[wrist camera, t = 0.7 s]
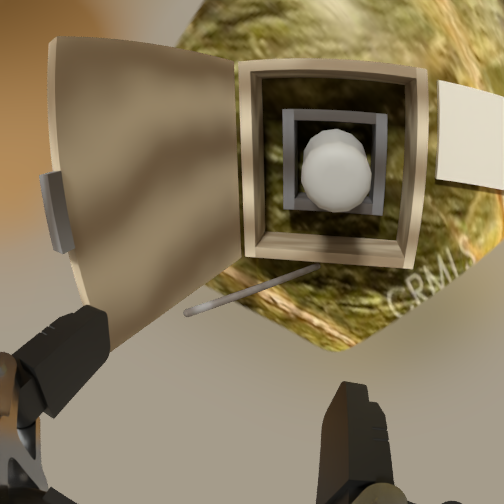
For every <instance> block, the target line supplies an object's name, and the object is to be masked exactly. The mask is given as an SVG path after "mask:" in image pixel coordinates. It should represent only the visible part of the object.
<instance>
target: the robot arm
mask: <svg viewBox="0 0 504 504" xmlns="http://www.w3.org/2000/svg"><path fill="white" fill-rule="evenodd" d="M110 347H111V346H110V336H109V325H108V316H107V313H106V312H105V311H103V310H100V309H98V308H95V307H93V306H90V305H84V306H83V307H82V308H80V309H79V310H78V311H76V312H75V313H70V314H67V315H65V316H62V317H59V318H58V319H57V320H55V321H54V322H53V323H52V324H50V326H49V327H46V328H45V329H44V330H42V333H38V334H37V335H36V336H35V337H34V338H32V339H31V340H30V341H28V342H27V343H26V344H25V345H23V346H22V347H21V348H20V349H18V351H16V352H15V353H14V354H12V355H10V354H9V353H5V352H0V504H77V503H75V502H74V501H72V500H70V499H69V498H67V497H66V496H64V495H63V494H61V493H59V492H58V491H57V490H55V489H53V488H52V487H50V488H49V489H48V484H47V480H46V477H45V475H44V472H43V469H42V464H41V443H40V418H39V416H40V414H41V413H42V412H45V413H46V414H47V415H49V416H50V417H52V418H55V417H56V416H57V415H58V414H59V412H60V411H61V410H62V409H63V408H64V407H65V406H66V405H67V403H68V402H69V401H70V400H71V399H72V398H73V397H74V396H75V394H76V393H77V392H78V391H79V390H80V389H81V388H82V387H83V386H84V384H85V383H86V382H87V381H88V380H89V379H90V378H91V377H92V375H94V373H95V372H96V371H97V370H98V369H99V368H100V367H101V366H102V365H103V364H104V363H105V361H106V360H107V358H108V356H109V353H110ZM388 440H389V438H388V431H387V424H386V418H385V414H384V413H383V411H382V409H381V408H380V406H379V405H378V403H376V402H369V397H368V390H367V386H366V385H363V384H358V383H351V382H346V381H343V382H342V383H341V384H340V386H339V388H338V390H337V392H336V394H335V396H334V398H333V400H332V402H331V404H330V406H329V408H328V409H327V412H326V414H325V416H324V420H323V424H322V433H321V450H320V464H319V477H318V487H317V498H316V504H414V503H411V502H409V501H407V498H406V497H405V495H404V493H403V492H402V491H401V490H400V489H399V488H398V487H396V486H395V485H394V481H393V471H392V461H391V453H390V445H389V442H388ZM442 504H461V503H460V502H457V501H448V502H444V503H442Z"/></svg>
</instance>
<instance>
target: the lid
mask: <svg viewBox="0 0 504 504" xmlns="http://www.w3.org/2000/svg"><path fill="white" fill-rule="evenodd" d="M47 77H48V79H47V98H48V124H49V138H50V149H51V160H52V168H53V172H49V173H45V174H42V175H39V178H40V184H41V191H42V197H43V203H44V208H45V213H46V218H47V223H48V227H49V232H50V237H51V241H52V245H53V249H54V250H55V251H57V252H59V253H62V254H64V253H66V252H68V254H69V258H70V262H71V265H72V269H73V273H74V277H75V280H76V284H77V287H78V290H79V294H80V297H81V300H82V303H83V306H84V305H90V306H93V307H95V308H98V309H100V310H103V311H105V312H106V313H107V316H108V325H109V336H110V346H111V347H110V352H111V351H113V350H114V349H115V348H117V347H118V346H119V345H121V344H122V343H124V342H125V341H126V340H127V339H129V338H131V337H132V336H133V335H135V334H136V333H137V332H139V331H140V330H142V329H143V328H144V327H146V326H147V325H149V324H150V323H151V322H153V321H154V320H155V319H157V318H158V317H160V316H161V315H162V314H164V313H165V312H166V311H168V310H169V309H171V308H172V307H173V306H175V305H176V304H178V303H179V302H180V301H182V300H183V299H185V298H186V297H187V296H189V295H190V294H192V293H193V292H194V291H196V290H197V289H198V288H200V287H201V286H203V285H204V284H205V283H207V282H208V281H210V280H211V279H212V278H214V277H215V276H216V275H218V274H219V273H221V272H222V271H223V270H225V269H226V268H228V267H229V266H230V265H232V264H233V263H235V262H236V261H237V260H239V259H240V258H241V239H240V216H239V192H238V167H237V141H236V112H235V82H234V61H231V60H227V59H223V58H219V57H215V56H211V55H207V54H203V53H198V52H194V51H189V50H184V49H179V48H174V47H168V46H162V45H156V44H150V43H143V42H135V41H127V40H118V39H107V38H93V37H92V38H91V37H66V36H58V37H56V38H55V39H53V40H52V41H51V42H50V43H49V51H48V74H47Z"/></svg>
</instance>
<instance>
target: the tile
mask: <svg viewBox="0 0 504 504" xmlns="http://www.w3.org/2000/svg"><path fill="white" fill-rule="evenodd" d="M437 98H438V130H437V155H436V170H435V178H436V179H440V180H447V181H454V182H460V183H467V184H473V185H479V186H484V187H490V188H495V189H500V190H504V97H502V96H499V95H496V94H492V93H489V92H485V91H482V90H478V89H475V88H471V87H467V86H463V85H459V84H454V83H450V82H445V81H440V80H438V81H437Z"/></svg>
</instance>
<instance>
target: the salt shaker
mask: <svg viewBox="0 0 504 504" xmlns="http://www.w3.org/2000/svg"><path fill="white" fill-rule="evenodd" d="M371 175H372V173H371V170H370V167H369V164H368V161H367V157H366V154H365V151H364V148H363V146H362V144H361V143H360V142H359V141H358V140H357V139H356V138H355V137H354V136H353V135H352V134H350V133H347V132H345V131H342V130H339V129H332V130H324V131H321V132H320V133H318V134H317V135H315V136H314V137H312V138H311V139H310V141H309V143H308V144H307V146H306V148H305V150H304V157H303V165H302V174H301V182H302V185H303V187H304V189H305V192H306V194H307V196H308V198H309V199H310V200H311V201H312V202H314V203H315V204H316V205H317V206H318V207H319V208H321V209H324V210H327V211H330V212H345V211H350V210H351V209H353V208H354V207H356V206H358V205H359V204H361V203H362V201H363V200H364V198H365V197H366V195H367V194H368V192H369V191H370V185H371Z"/></svg>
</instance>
